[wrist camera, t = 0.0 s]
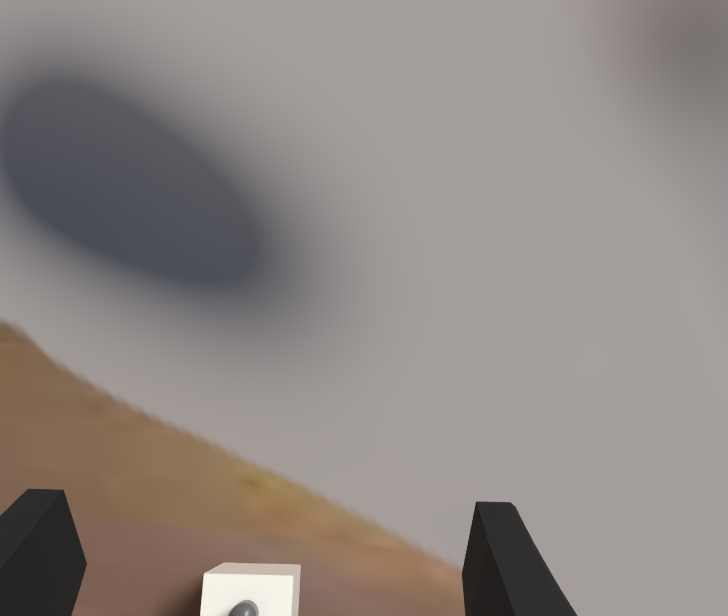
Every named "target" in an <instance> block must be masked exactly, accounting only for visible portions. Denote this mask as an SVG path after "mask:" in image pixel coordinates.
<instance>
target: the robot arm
mask: <svg viewBox="0 0 728 616" xmlns="http://www.w3.org/2000/svg"><path fill="white" fill-rule="evenodd" d="M86 565H87V563H86V560H85V556H84V553H83V550H82V547H81V544H80V540H79V537H78V534H77V531H76V528H75V525H74V521H73V518H72V515H71V512H70V509H69V506H68V502H67V499H66V496H65V493H64V490H50V489H28V490H27V491H25V492H24V493H23V494H22V495H21V496H20V497H19V498H18V499H17V500H16V501H15V502H14V503H13V504H12V505H11V506H10V507H9V508H8V509H7V510H6V511H5V512H4V513H3V514H2V515H1V516H0V616H71V615H72V612H73V609H74V605H75V602H76V599H77V596H78V593H79V589H80V586H81V582H82V579H83V575H84V572H85V569H86ZM462 581H463V592H464V604H465V615H466V616H577V615H576V613H575V611H574V610H573V608H572V607H571V605H570V604H569V602H568V600H567V599H566V597H565V596H564V594H563V592H562V591H561V589H560V587H559V586H558V584H557V582H556V581H555V579H554V577H553V576H552V574H551V572H550V571H549V569H548V567H547V565H546V563H545V562H544V560H543V558H542V556H541V555H540V553H539V551H538V549H537V547H536V546H535V544H534V542H533V540H532V538H531V536H530V535H529V533H528V531H527V529H526V527H525V525H524V523H523V521H522V519H521V517H520V515H519V513H518V511H517V509H516V507H515V506H514V505H513V504H512V503H510V502H476V505H475V510H474V515H473V520H472V526H471V530H470V535H469V541H468V546H467V551H466V556H465V561H464V566H463V571H462Z"/></svg>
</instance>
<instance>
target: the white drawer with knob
mask: <svg viewBox="0 0 728 616" xmlns="http://www.w3.org/2000/svg"><path fill="white" fill-rule="evenodd" d="M300 568H301V565H292V564H254V563H222V564H220V565H219V566H217V567H215V568H213V569H211V570H209V571H208V572H206V573H204V579H203V590H202V601H201V612H200V616H298V606H299V587H300Z"/></svg>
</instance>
